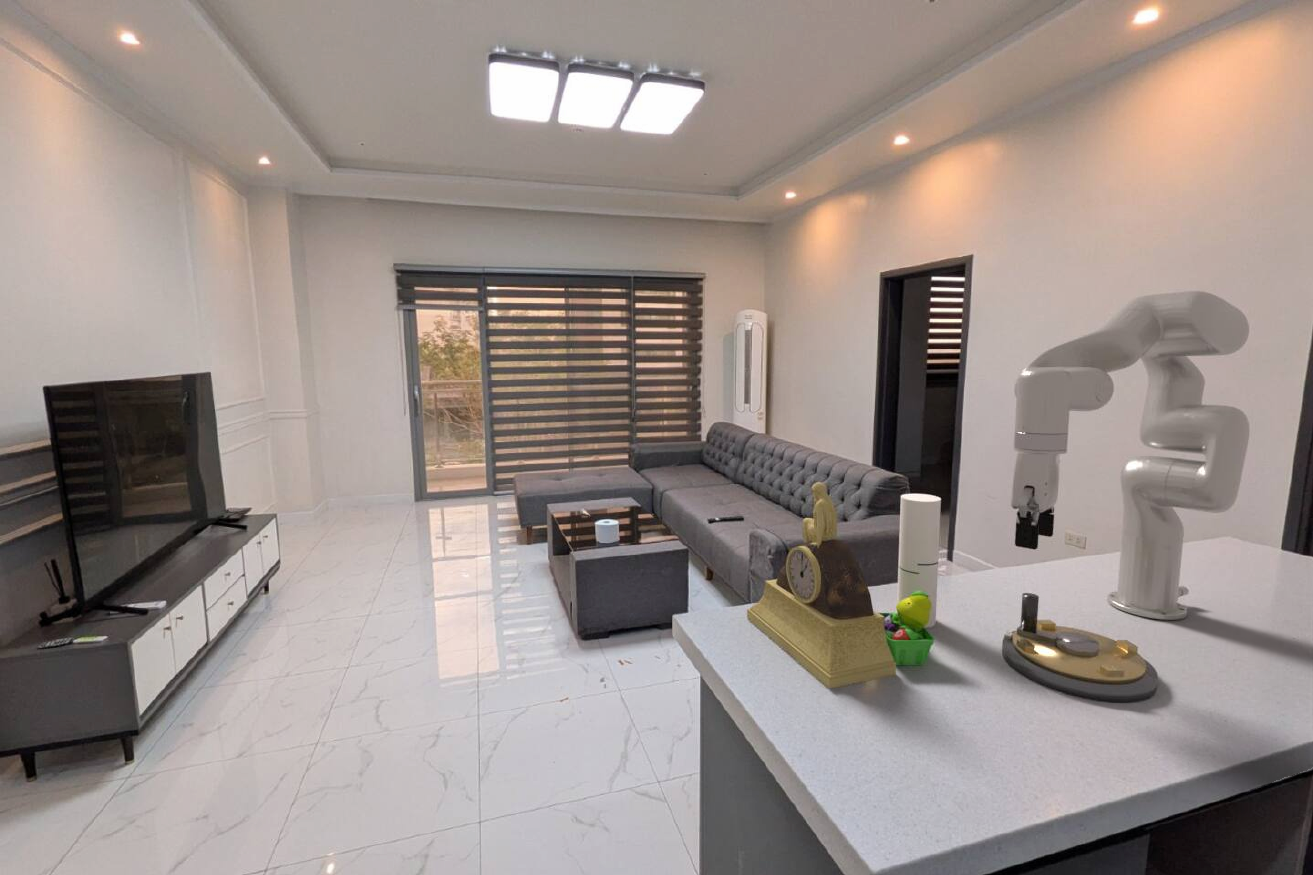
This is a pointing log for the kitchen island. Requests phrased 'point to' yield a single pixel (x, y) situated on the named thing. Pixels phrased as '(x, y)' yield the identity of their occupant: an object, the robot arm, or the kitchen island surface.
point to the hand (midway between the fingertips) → (1034, 541)
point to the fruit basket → (909, 630)
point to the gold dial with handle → (1075, 650)
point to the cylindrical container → (919, 548)
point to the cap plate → (1078, 687)
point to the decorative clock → (825, 606)
